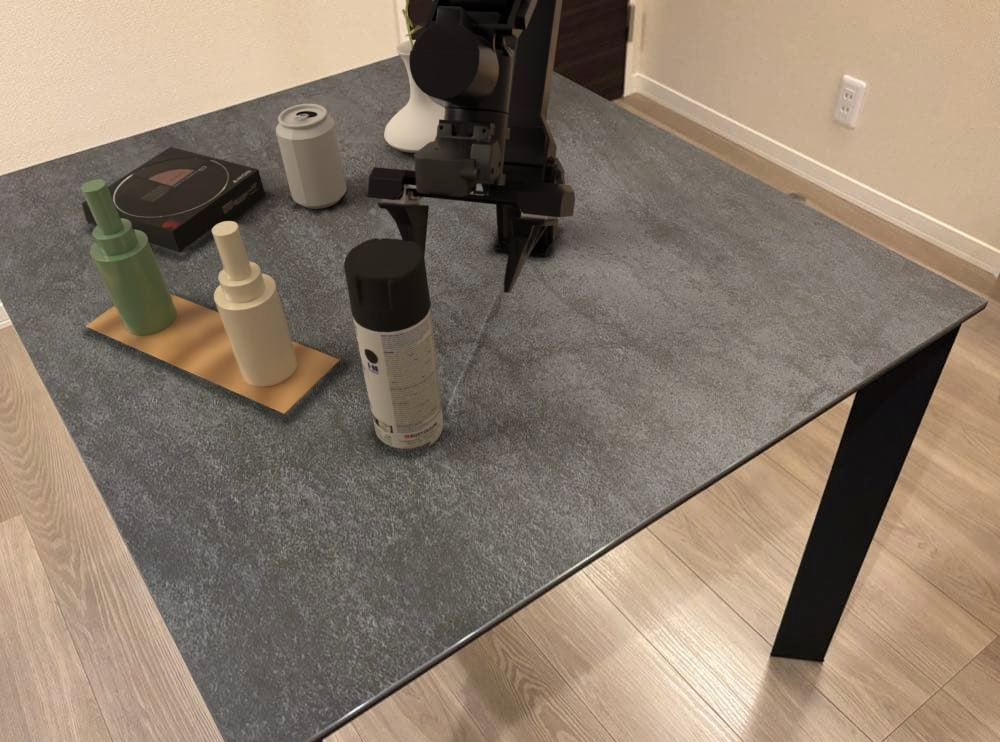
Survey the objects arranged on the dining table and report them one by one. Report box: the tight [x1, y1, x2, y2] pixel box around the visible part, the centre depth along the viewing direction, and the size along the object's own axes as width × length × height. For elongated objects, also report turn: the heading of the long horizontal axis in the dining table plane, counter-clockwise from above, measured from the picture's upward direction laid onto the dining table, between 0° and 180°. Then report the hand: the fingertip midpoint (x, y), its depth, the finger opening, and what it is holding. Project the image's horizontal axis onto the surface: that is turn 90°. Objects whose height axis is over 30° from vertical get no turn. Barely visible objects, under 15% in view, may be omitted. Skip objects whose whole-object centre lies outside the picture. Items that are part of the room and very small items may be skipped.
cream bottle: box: [211, 220, 298, 387], centre depth 81 cm, size 6×6×17 cm
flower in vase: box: [383, 0, 445, 154], centre depth 113 cm, size 13×11×25 cm
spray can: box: [343, 237, 444, 449], centre depth 73 cm, size 7×7×20 cm
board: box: [85, 293, 341, 415], centre depth 91 cm, size 30×9×1 cm, turn 58°
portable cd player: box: [81, 146, 266, 253], centre depth 111 cm, size 16×17×4 cm
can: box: [275, 103, 347, 210], centre depth 108 cm, size 8×8×12 cm
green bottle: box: [80, 178, 177, 336], centre depth 88 cm, size 6×6×17 cm
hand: (461, 285), depth 78 cm, fingers open, 9 cm apart
